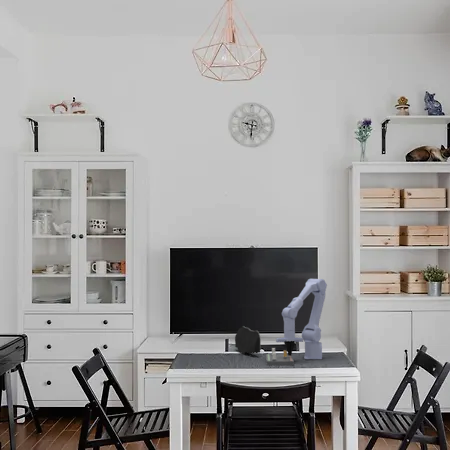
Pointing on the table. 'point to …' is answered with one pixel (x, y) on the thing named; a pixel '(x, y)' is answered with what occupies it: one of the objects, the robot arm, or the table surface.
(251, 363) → the table surface
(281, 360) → the board
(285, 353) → the block
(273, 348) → the block
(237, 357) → the table surface
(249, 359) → the table surface
